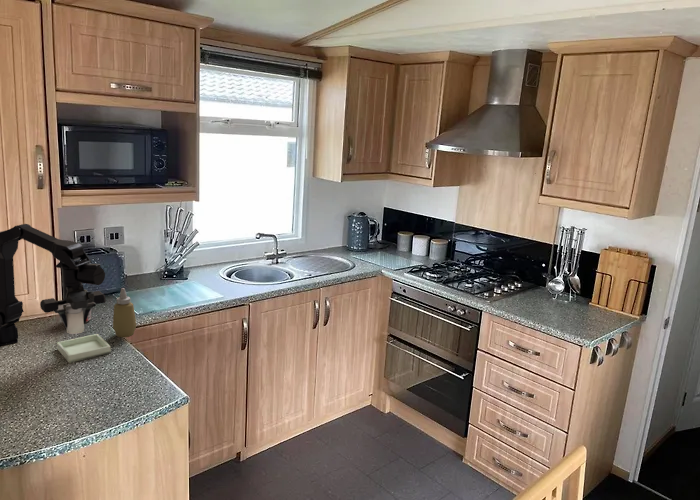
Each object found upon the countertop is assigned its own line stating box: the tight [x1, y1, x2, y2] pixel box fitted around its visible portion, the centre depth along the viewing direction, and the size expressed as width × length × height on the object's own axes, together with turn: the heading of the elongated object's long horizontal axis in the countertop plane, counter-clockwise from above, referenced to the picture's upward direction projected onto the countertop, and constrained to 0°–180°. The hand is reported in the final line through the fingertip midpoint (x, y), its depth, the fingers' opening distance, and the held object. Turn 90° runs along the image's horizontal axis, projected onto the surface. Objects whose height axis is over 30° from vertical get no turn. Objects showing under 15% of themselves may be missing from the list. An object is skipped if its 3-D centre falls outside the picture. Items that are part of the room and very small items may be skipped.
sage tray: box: [56, 333, 112, 364], centre depth 185 cm, size 13×13×2 cm
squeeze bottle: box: [112, 287, 137, 338], centre depth 198 cm, size 8×8×18 cm
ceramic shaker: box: [65, 305, 85, 335], centre depth 181 cm, size 5×5×9 cm
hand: (75, 325), depth 181 cm, fingers closed on ceramic shaker, 5 cm apart
